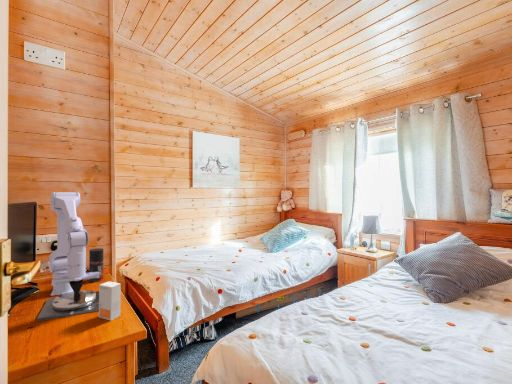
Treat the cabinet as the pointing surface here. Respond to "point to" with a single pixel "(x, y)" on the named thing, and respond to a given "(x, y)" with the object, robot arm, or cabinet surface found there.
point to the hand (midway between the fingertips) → (76, 300)
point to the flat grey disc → (67, 300)
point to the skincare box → (109, 300)
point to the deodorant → (96, 263)
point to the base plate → (52, 313)
